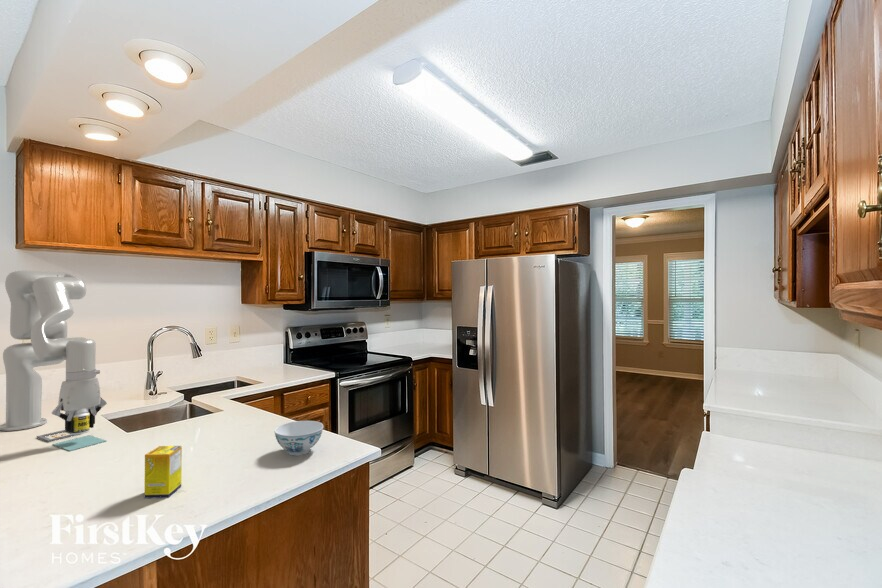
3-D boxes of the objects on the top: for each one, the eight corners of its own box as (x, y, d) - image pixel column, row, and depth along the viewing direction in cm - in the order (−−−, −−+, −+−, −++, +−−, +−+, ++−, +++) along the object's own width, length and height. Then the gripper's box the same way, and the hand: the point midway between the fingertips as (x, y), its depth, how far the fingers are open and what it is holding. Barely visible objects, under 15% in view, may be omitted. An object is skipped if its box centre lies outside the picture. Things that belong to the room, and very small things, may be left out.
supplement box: (158, 487, 106) (158, 445, 106) (182, 486, 106) (182, 445, 106) (143, 498, 100) (143, 454, 100) (168, 497, 100) (169, 453, 100)
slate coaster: (36, 437, 141) (36, 436, 141) (69, 430, 149) (69, 428, 149) (48, 442, 137) (48, 440, 137) (81, 434, 145) (81, 432, 145)
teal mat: (52, 445, 135) (52, 444, 135) (89, 435, 144) (89, 435, 144) (69, 451, 129) (69, 450, 129) (106, 441, 138) (106, 440, 138)
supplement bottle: (78, 435, 134) (78, 410, 134) (66, 434, 135) (67, 409, 135) (93, 430, 138) (93, 406, 139) (82, 429, 139) (82, 405, 139)
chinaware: (332, 446, 135) (332, 423, 136) (303, 463, 121) (303, 438, 121) (295, 440, 140) (295, 418, 140) (263, 456, 126) (263, 432, 126)
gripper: (104, 370, 146) (104, 421, 146) (42, 379, 131) (41, 435, 131) (115, 372, 143) (115, 424, 143) (53, 381, 127) (52, 439, 127)
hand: (80, 428), depth 137 cm, fingers closed on supplement bottle, 4 cm apart
